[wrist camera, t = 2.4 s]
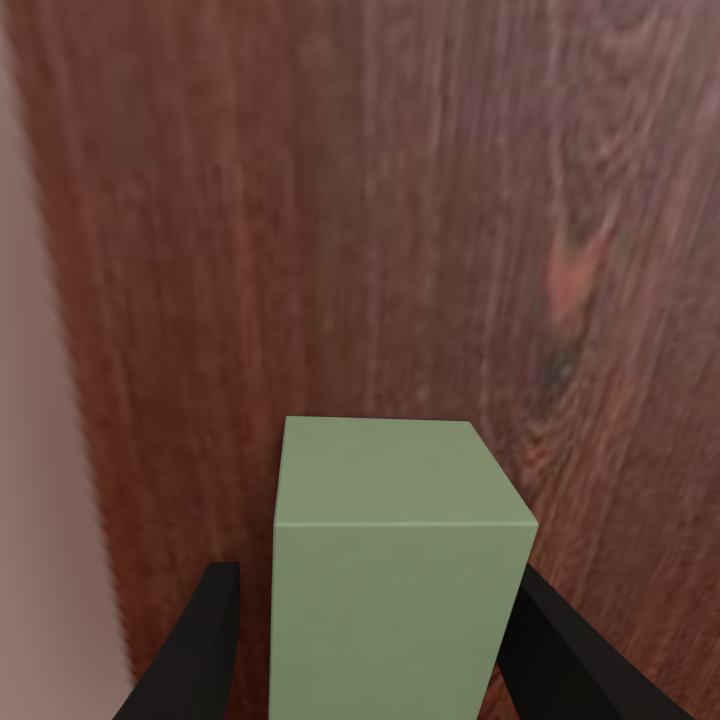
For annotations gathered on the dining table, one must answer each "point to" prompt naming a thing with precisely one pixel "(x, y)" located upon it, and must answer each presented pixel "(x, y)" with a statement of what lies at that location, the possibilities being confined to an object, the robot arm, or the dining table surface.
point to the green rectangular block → (390, 569)
